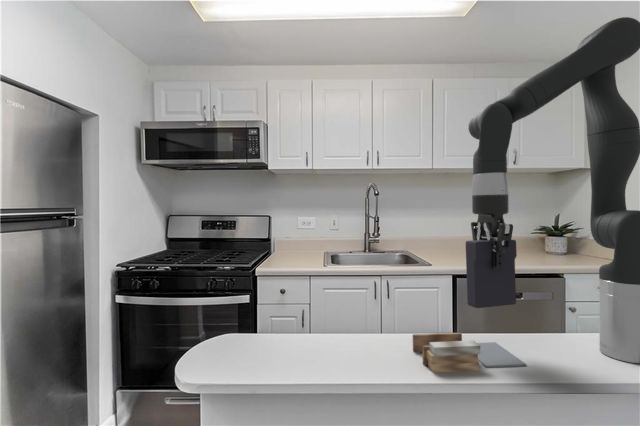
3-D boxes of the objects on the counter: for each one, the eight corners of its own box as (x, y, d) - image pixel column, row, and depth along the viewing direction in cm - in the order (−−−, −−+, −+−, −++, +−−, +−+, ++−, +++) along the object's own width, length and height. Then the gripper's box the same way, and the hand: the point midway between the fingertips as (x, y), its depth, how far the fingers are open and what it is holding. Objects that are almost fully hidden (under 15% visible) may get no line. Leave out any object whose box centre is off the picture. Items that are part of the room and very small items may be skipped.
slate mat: (495, 343, 86) (495, 342, 86) (526, 365, 74) (526, 364, 74) (460, 345, 85) (460, 343, 85) (486, 367, 73) (486, 365, 73)
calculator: (504, 300, 82) (502, 238, 82) (518, 304, 78) (516, 239, 78) (465, 304, 80) (463, 240, 80) (477, 309, 75) (475, 241, 76)
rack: (460, 348, 83) (460, 332, 83) (476, 363, 75) (476, 345, 75) (412, 350, 82) (412, 334, 82) (423, 365, 75) (423, 347, 75)
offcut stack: (474, 364, 75) (473, 340, 75) (480, 370, 72) (480, 345, 72) (426, 366, 74) (426, 342, 74) (431, 373, 72) (431, 347, 71)
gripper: (525, 192, 72) (526, 272, 72) (488, 194, 86) (489, 261, 86) (491, 192, 71) (492, 273, 72) (459, 195, 86) (460, 262, 86)
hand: (490, 266), depth 79 cm, fingers closed on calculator, 4 cm apart
